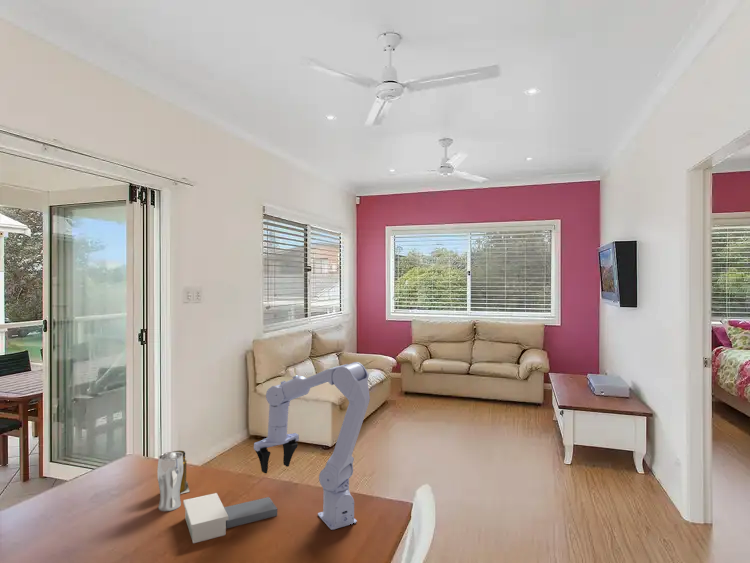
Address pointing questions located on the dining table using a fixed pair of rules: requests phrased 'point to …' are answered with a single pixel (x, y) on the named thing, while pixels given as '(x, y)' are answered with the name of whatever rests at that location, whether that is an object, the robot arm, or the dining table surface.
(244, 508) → the slate tile
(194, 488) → the dining table surface
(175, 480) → the beer glass
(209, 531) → the white rectangular block
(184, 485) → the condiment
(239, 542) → the dining table surface
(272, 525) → the dining table surface
